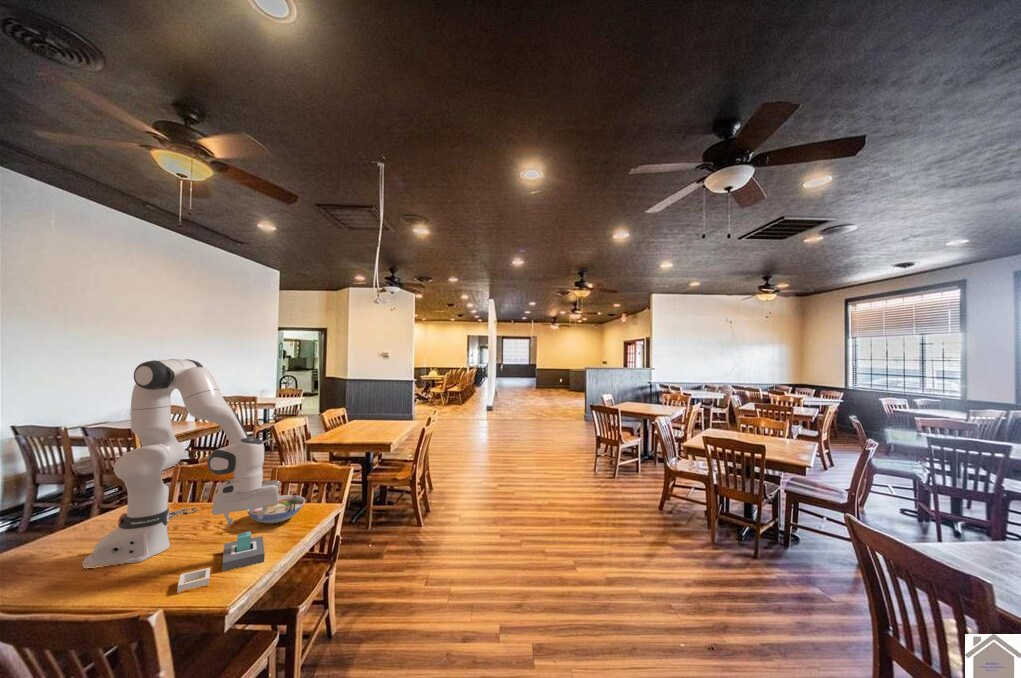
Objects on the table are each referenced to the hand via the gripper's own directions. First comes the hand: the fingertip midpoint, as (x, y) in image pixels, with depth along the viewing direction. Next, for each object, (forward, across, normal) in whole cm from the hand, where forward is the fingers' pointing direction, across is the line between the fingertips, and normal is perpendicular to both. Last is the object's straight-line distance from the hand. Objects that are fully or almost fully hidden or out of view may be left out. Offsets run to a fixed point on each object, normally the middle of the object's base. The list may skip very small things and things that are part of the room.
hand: (245, 521), depth 140 cm
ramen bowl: (+13, -12, -30) cm, 35 cm away
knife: (+14, +28, -54) cm, 63 cm away
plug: (+13, 0, 0) cm, 13 cm away
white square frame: (+13, +13, +12) cm, 22 cm away
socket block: (+12, 0, 0) cm, 13 cm away
